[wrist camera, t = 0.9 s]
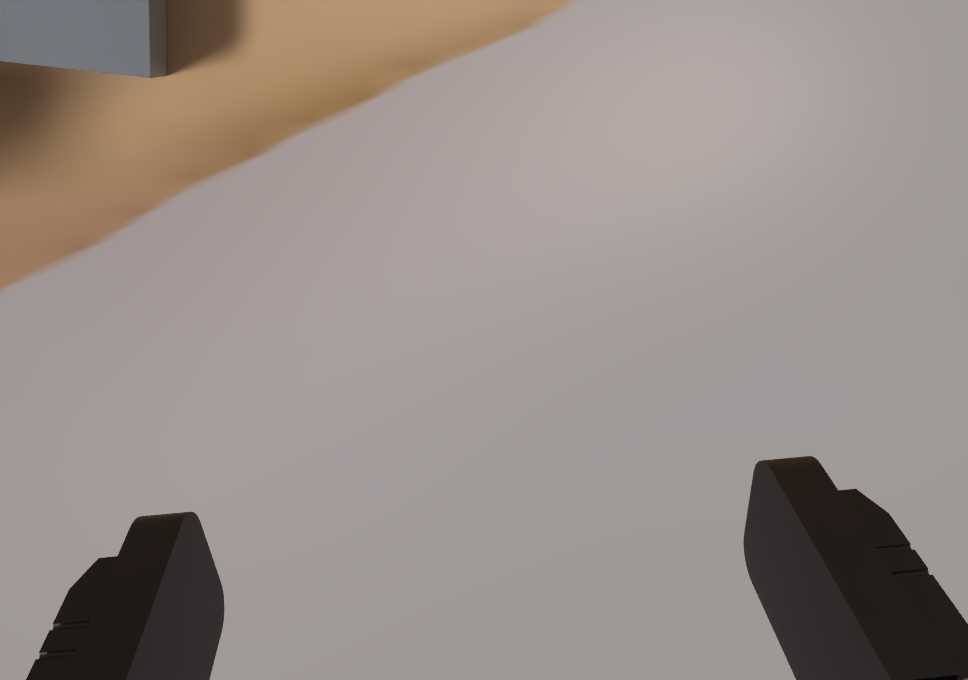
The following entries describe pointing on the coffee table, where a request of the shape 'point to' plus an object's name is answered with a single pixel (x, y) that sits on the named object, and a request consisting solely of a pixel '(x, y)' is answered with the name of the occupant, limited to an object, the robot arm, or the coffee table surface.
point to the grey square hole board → (86, 35)
